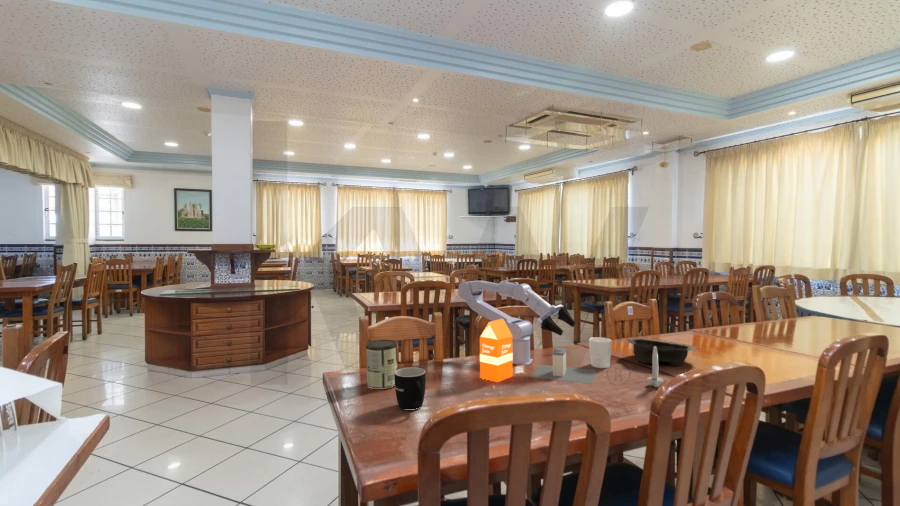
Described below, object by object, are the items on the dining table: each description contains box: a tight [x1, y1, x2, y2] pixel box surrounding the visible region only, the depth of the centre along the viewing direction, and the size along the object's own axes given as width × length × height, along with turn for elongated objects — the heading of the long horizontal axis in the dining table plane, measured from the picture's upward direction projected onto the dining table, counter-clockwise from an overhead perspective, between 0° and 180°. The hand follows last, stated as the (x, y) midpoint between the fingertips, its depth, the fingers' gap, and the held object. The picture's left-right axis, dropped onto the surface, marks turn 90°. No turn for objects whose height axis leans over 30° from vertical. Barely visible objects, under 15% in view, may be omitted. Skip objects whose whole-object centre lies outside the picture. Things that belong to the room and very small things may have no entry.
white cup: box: [588, 336, 612, 369], centre depth 162 cm, size 8×8×10 cm
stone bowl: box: [626, 336, 698, 367], centre depth 168 cm, size 25×25×9 cm
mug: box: [394, 366, 427, 410], centre depth 123 cm, size 12×9×10 cm
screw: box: [646, 346, 665, 388], centre depth 139 cm, size 13×5×5 cm
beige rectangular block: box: [552, 347, 567, 376], centre depth 153 cm, size 4×7×8 cm, turn 157°
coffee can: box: [365, 339, 398, 389], centre depth 144 cm, size 10×10×14 cm
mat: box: [530, 364, 597, 385], centre depth 153 cm, size 20×16×1 cm
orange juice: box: [479, 319, 514, 383], centre depth 150 cm, size 8×9×20 cm
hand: (568, 329), depth 156 cm, fingers open, 7 cm apart
